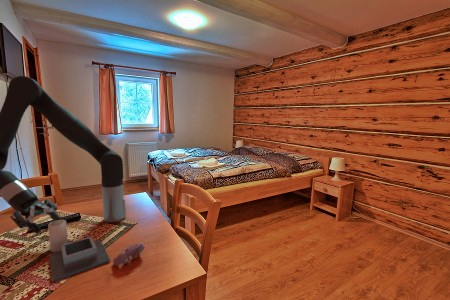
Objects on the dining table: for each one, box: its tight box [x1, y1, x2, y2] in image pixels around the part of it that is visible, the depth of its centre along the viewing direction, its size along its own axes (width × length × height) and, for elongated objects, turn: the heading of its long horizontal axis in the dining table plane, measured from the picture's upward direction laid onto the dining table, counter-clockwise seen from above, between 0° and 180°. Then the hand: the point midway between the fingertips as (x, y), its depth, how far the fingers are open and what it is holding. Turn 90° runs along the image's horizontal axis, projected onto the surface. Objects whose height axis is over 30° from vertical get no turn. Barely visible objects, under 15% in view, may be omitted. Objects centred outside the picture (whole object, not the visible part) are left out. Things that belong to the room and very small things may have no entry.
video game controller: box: [112, 242, 145, 267], centre depth 79 cm, size 10×5×7 cm, turn 148°
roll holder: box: [49, 236, 111, 283], centre depth 79 cm, size 16×16×5 cm
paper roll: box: [47, 219, 69, 253], centre depth 86 cm, size 6×6×10 cm
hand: (49, 226), depth 85 cm, fingers open, 8 cm apart
